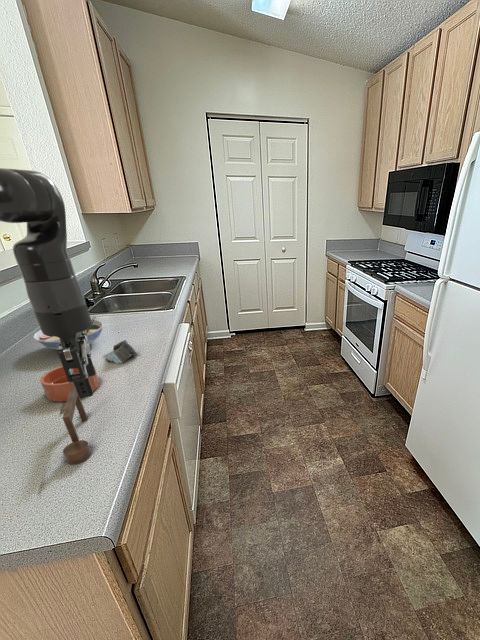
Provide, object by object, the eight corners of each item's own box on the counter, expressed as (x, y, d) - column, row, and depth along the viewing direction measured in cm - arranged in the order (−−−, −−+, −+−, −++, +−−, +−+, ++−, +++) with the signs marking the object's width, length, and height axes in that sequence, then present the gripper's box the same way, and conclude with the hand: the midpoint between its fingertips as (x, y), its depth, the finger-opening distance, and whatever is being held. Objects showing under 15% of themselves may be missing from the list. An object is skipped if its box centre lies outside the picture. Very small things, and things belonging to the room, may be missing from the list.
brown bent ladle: (91, 460, 74) (76, 424, 69) (65, 467, 72) (49, 430, 67) (95, 416, 89) (83, 384, 84) (74, 421, 87) (61, 388, 82)
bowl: (43, 408, 92) (35, 389, 90) (51, 385, 103) (44, 368, 101) (99, 395, 98) (92, 378, 95) (100, 375, 109) (95, 359, 106)
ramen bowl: (52, 339, 138) (45, 320, 134) (113, 332, 144) (108, 314, 140) (29, 365, 116) (20, 344, 113) (101, 355, 122) (95, 335, 119)
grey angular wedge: (98, 360, 120) (100, 345, 111) (113, 347, 125) (116, 333, 116) (120, 376, 122) (124, 363, 113) (134, 364, 126) (139, 350, 117)
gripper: (40, 296, 61) (70, 374, 68) (23, 319, 49) (60, 409, 57) (87, 291, 64) (110, 366, 71) (81, 312, 52) (109, 398, 59)
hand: (88, 385), depth 64 cm, fingers open, 8 cm apart
